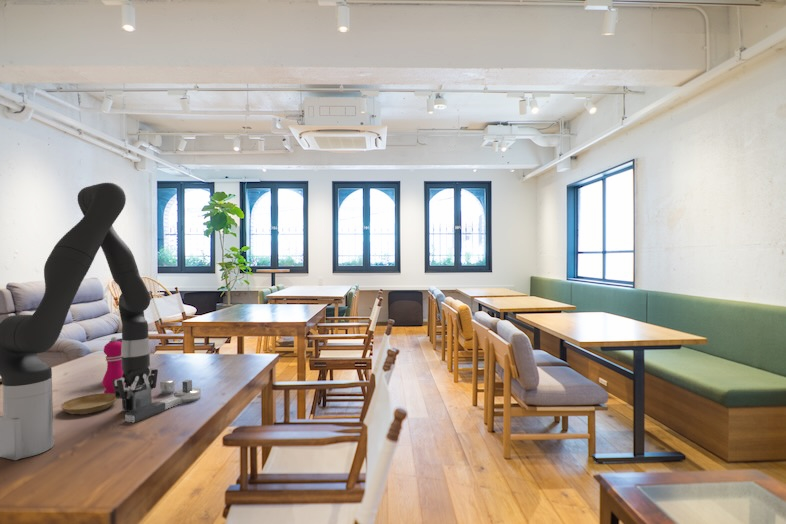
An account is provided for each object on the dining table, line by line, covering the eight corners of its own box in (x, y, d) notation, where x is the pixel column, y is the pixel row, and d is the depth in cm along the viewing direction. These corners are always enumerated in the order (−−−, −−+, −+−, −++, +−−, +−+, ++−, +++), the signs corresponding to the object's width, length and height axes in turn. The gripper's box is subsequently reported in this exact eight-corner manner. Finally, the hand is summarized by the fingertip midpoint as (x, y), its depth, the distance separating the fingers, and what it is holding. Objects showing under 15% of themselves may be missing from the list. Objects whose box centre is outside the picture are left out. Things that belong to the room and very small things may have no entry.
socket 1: (135, 412, 129) (135, 390, 129) (122, 410, 131) (121, 388, 131) (151, 406, 135) (151, 385, 135) (138, 404, 137) (138, 383, 136)
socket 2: (167, 395, 146) (166, 383, 146) (157, 394, 147) (157, 382, 147) (177, 391, 150) (177, 380, 150) (168, 390, 151) (167, 379, 151)
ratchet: (139, 424, 120) (139, 402, 120) (119, 420, 123) (118, 400, 123) (206, 396, 144) (205, 378, 144) (187, 394, 147) (187, 376, 147)
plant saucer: (129, 402, 139) (129, 394, 139) (86, 419, 125) (85, 410, 125) (94, 399, 143) (94, 391, 143) (48, 415, 129) (48, 406, 129)
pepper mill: (115, 398, 143) (113, 339, 143) (97, 397, 144) (95, 338, 144) (132, 391, 150) (131, 335, 150) (115, 390, 152) (113, 334, 151)
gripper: (147, 347, 141) (148, 398, 141) (104, 357, 127) (105, 414, 127) (164, 349, 138) (165, 401, 138) (122, 359, 125) (124, 416, 125)
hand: (136, 406), depth 133 cm, fingers closed on socket 1, 5 cm apart
